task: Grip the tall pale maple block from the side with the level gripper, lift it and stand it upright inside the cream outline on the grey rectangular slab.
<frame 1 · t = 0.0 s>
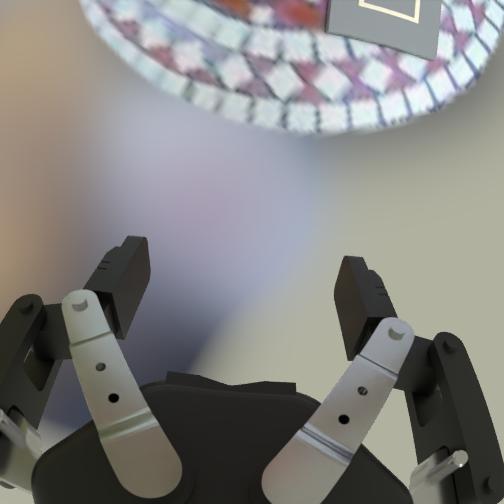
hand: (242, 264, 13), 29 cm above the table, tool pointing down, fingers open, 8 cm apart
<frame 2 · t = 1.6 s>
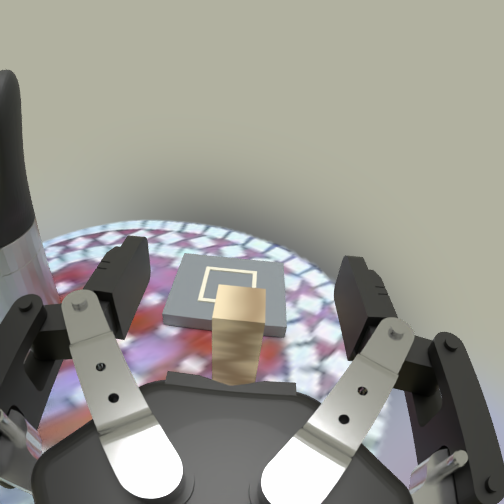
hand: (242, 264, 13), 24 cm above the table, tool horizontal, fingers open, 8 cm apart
grey rectangular slab: (228, 296, 47), on the table
maple block: (234, 377, 35), on the table
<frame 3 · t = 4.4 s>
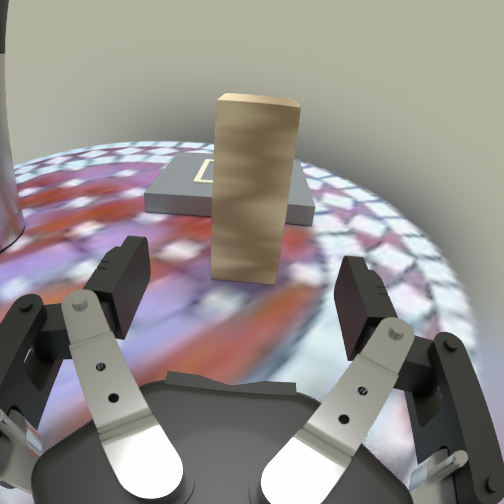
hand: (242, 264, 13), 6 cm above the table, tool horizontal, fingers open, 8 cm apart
grey rectangular slab: (233, 189, 36), on the table
maple block: (244, 263, 24), on the table
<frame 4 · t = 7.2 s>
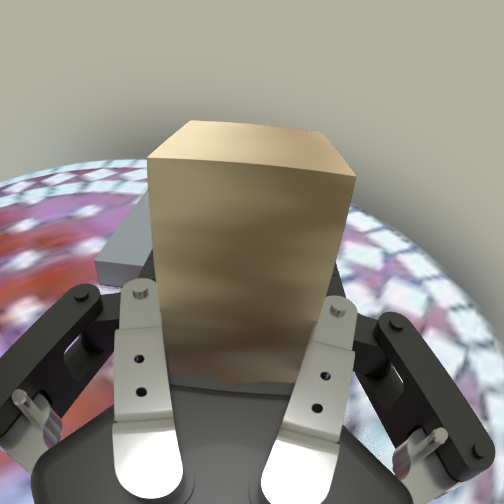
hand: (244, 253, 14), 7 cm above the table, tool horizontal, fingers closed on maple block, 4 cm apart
grey rectangular slab: (222, 241, 27), on the table
maple block: (232, 392, 15), on the table, touching gripper
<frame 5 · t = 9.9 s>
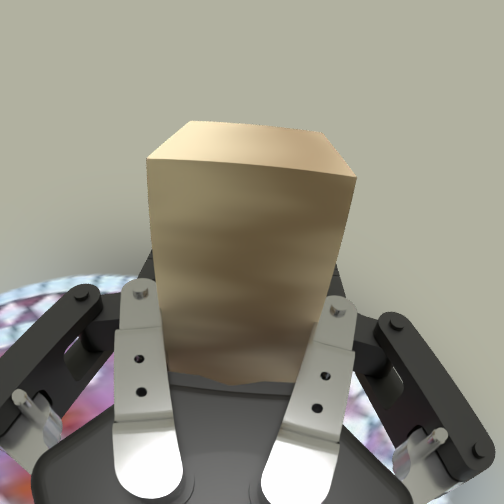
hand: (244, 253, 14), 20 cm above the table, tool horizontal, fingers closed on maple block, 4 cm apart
maple block: (233, 392, 15), point 13 cm above the table, touching gripper
when the fingers open (10 cm above the table, at t = 12.9 s): maple block drops 1 cm, resting on grey rectangular slab.
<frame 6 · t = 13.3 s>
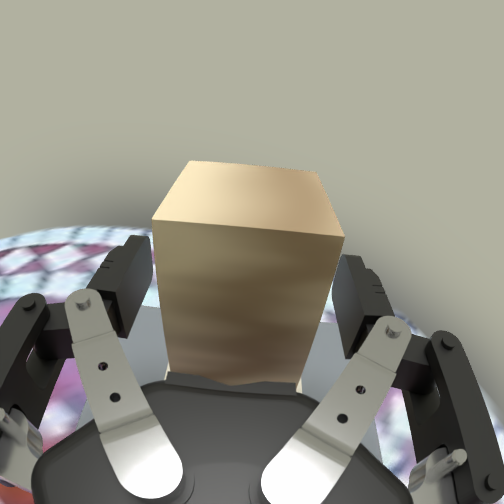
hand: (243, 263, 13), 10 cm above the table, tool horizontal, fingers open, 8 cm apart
grey rectangular slab: (230, 421, 17), on the table
maple block: (231, 406, 16), point 2 cm above the table, touching grey rectangular slab
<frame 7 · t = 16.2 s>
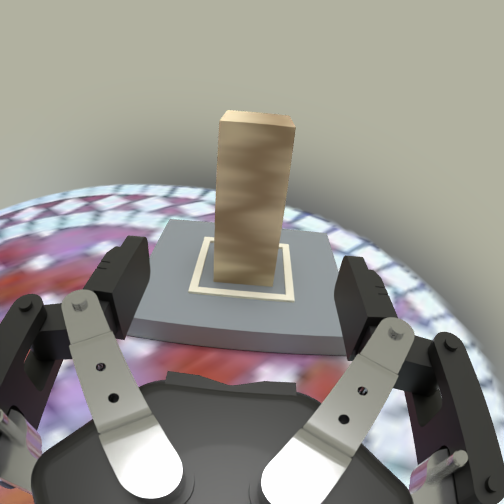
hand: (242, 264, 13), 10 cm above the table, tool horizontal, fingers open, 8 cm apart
grey rectangular slab: (242, 285, 27), on the table
maple block: (244, 267, 26), point 2 cm above the table, touching grey rectangular slab
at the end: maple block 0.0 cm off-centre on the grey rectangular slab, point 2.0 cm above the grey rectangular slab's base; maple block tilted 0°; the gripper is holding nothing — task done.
